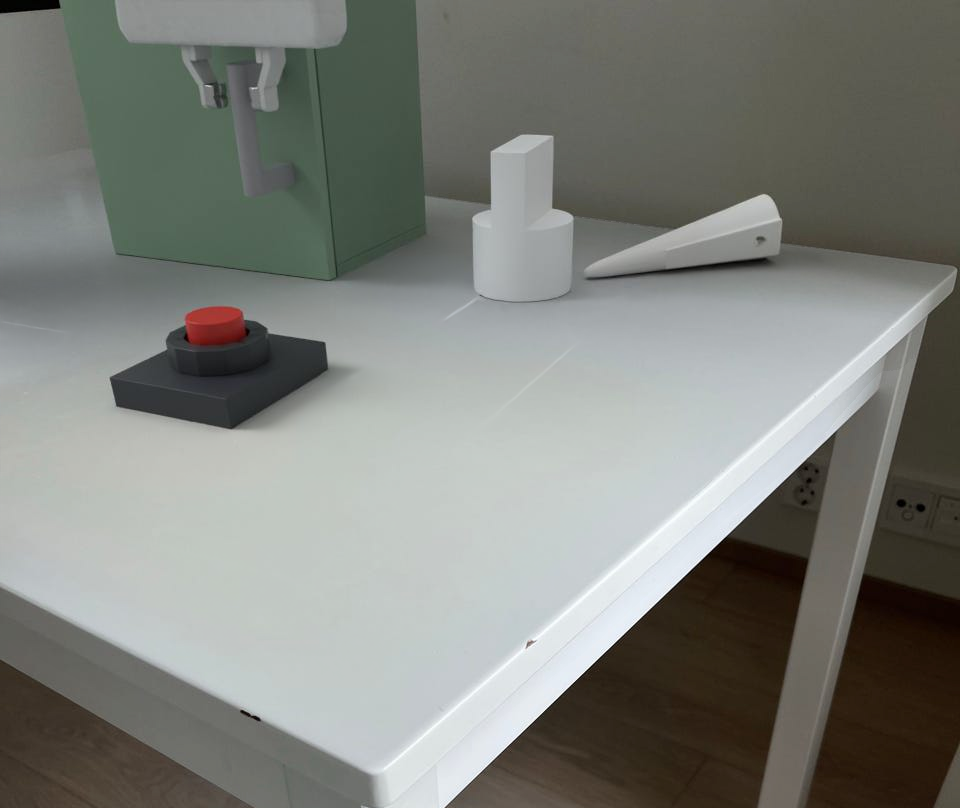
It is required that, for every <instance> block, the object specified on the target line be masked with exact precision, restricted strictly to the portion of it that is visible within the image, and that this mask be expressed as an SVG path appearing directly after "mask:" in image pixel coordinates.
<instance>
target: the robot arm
mask: <svg viewBox="0 0 960 808" xmlns="http://www.w3.org/2000/svg"><path fill="white" fill-rule="evenodd" d="M115 5H116V13H117V19H118V24H119V28H120V30H121V31H122V33H123V34H124V36H125V37H126V39H127V40H128V41H129V42H130V43H137V44H171V45H180V46H181V52H182V59H183V62H184V64H185V65H186V67H187V68H188V70H189V72H190V73H191V75H192V77H193V78H194V80H195V82H196V83H197V85H199V91H200V97H201V103H202V106H203V107H204V108H208V109H221V108H225V107H227V106H228V97H227V96H226V93H227V88H226V83H218V81H217V79H216V77H215V75H214V73H213V71H212V69H211V67H210V65H209V63H208V61H207V59H210V58H212V54H211V46H239V47H254V48H255V55H256V62H257V63H263V65H262V69H261V73H260V77H259V81H258V85H257V86H253V87H249V90H250V97H251V98H252V102H251V105H252V109H253V110H254V111H261V112H271V111H276V110H277V109H278V106H279V103H278V94H277V85H278V83H279V80H280V77H281V74H282V71H283V68H284V66H285V63H286V57H285V48H307V49H321V48H328V47H333V46H337V45H339V44H340V43H341V41H342V39H343V37H344V35H345V32H346V29H347V14H346V3H345V0H115Z"/></svg>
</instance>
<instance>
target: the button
mask: <svg viewBox="0 0 960 808" xmlns="http://www.w3.org/2000/svg"><path fill="white" fill-rule="evenodd" d="M244 320H245V317H244V313H243V311H242V310H241V309H239V308H237V307H233V306H224V305H218V306H217V305H215V306H207V307H201V308H198V309H195V310H191V311H190V312H188V313H186V315H184V324H185V325H186V329H187V334H188V339H189V343H191V344H197V345H222V344H226V343H231V342H236V341H239V340H241V339H243V338H245V337H246V330H245V324H244Z"/></svg>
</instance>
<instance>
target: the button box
mask: <svg viewBox="0 0 960 808" xmlns="http://www.w3.org/2000/svg"><path fill="white" fill-rule="evenodd" d="M244 324H245V330H246V337H245V338H243V339H241V340H239V341H236V342H231V343H226V344H222V345H197V344H191V343H189V339H188V334H187V329H186V324H185V325H182V326H181V327H177V328H176V329H174V330H172V331H170V332H169V333H168V335H167V337H166V338H165V345H166V346H165V347H166V349H165V350H163V351H160V352H159V353H157V354H154V355H153V356H150V357H149V358H147V359H144V360H142V361H140V362H138V363H136V364H134V365H132V366H130V367H128V368H125V369H123V370H122V371H120V372H118V373H115V374H113V375H111V376H109V381H110V386H111V390H112V394H113V398H114V402H115V403H114V404H115V406H116V407H117V408H121V409H126V410H131V411H136V412H142V413H147V414H152V415H157V416H162V417H167V418H172V419H176V420H182V421H186V422H192V423H197V424H202V425H207V426H212V427H217V428H223V429H227V430H233V429H235V428H236V427H238V426H240V425H241V424H243V423H245V422H246V421H248V420H250V419H251V418H252V417H254V416H256V415H257V414H259V413H261V412H262V411H264V410H266V409H267V408H269V407H271V406H272V405H274V404H275V403H277V402H279V401H280V400H282V399H284V398H285V397H287V396H289V395H291V394H292V393H293V392H295V391H296V390H298V389H300V388H302V387H303V386H305V385H306V384H308V383H310V382H312V381H313V380H314V379H317V378H318V377H319V376H321V374H324V373H325V372H327V371H328V370H329V360H328V353H327V344H326V342H325V341H323V340H316V339H315V340H314V339H307V338H301V337H295V336H289V335H283V334H276V333H270V332H269V329H268V327H266V326H265V325H263V324H262V323H260V322H258V321H256V320H250V319H244Z"/></svg>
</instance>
